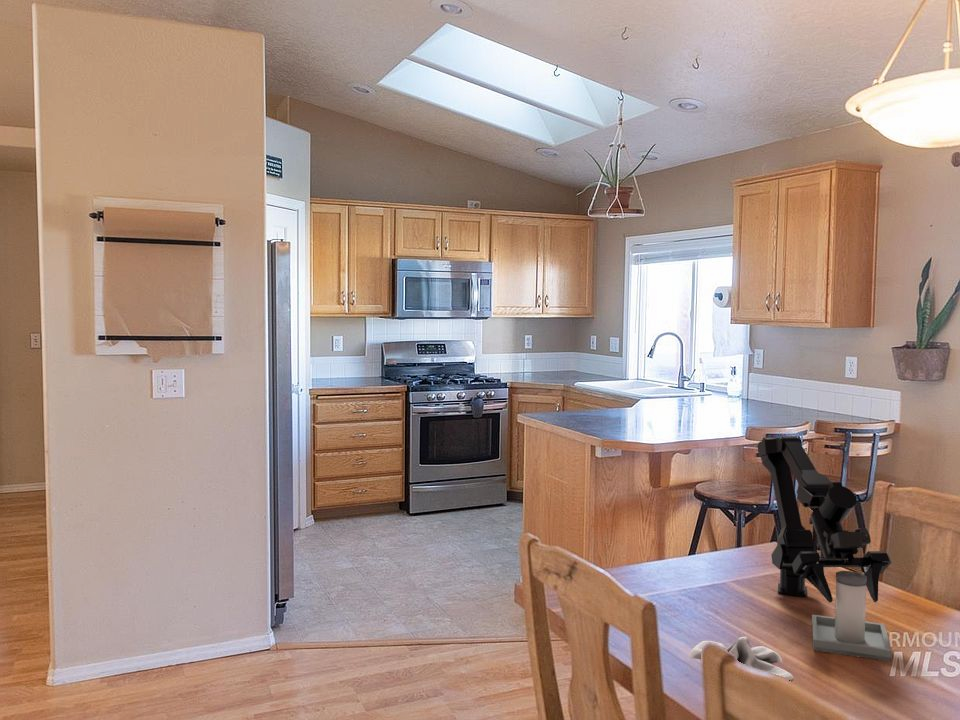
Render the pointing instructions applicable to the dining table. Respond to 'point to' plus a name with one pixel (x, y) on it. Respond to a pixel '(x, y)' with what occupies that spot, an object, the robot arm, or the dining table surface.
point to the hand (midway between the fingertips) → (853, 601)
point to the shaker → (850, 607)
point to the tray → (871, 648)
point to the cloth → (748, 655)
